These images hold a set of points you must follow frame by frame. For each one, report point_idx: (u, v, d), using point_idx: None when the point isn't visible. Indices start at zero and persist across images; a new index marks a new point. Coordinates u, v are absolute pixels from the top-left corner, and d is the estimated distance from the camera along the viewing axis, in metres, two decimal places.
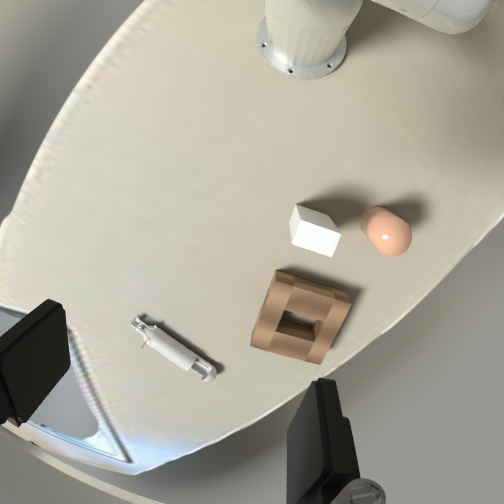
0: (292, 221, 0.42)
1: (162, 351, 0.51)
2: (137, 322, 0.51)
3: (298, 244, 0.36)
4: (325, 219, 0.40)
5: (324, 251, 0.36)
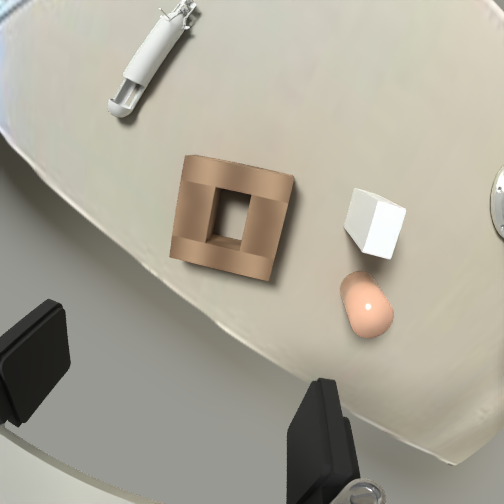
0: (369, 193, 0.32)
1: (151, 40, 0.29)
2: (190, 5, 0.28)
3: (377, 208, 0.26)
4: None
5: (369, 242, 0.27)
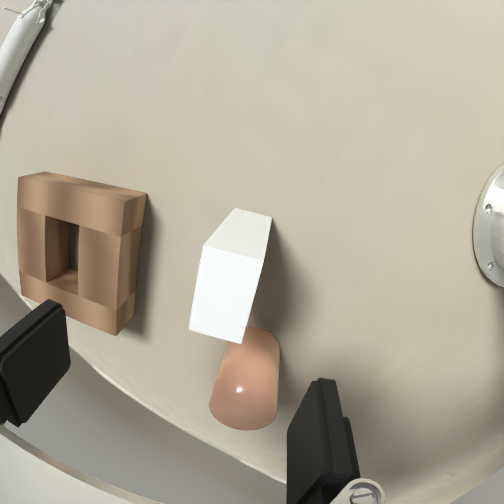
0: (243, 220, 0.21)
1: (5, 43, 0.18)
2: None
3: (204, 259, 0.15)
4: None
5: (197, 315, 0.16)
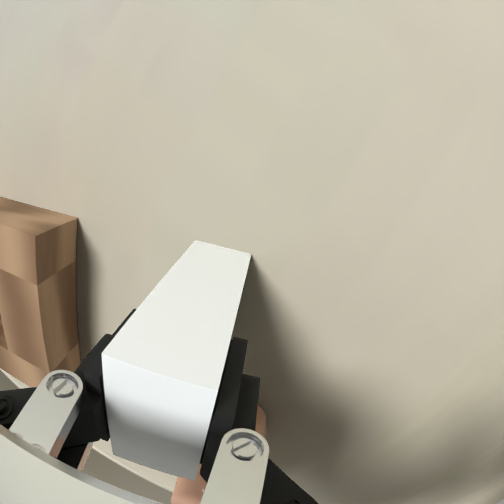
0: (201, 267, 0.13)
1: None
2: None
3: (108, 375, 0.07)
4: None
5: (120, 442, 0.08)
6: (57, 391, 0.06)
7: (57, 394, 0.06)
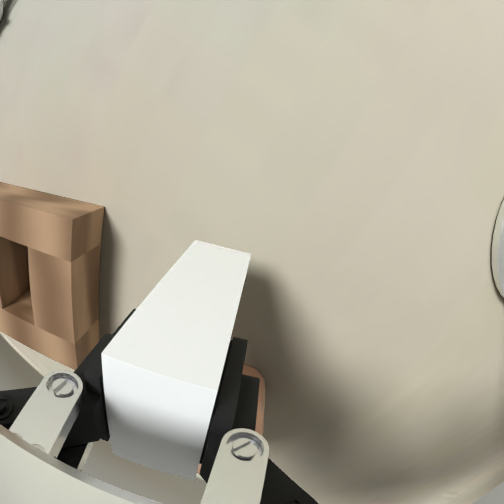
0: (201, 267, 0.13)
1: None
2: None
3: (108, 375, 0.07)
4: None
5: (120, 442, 0.08)
6: (57, 391, 0.06)
7: (57, 394, 0.06)
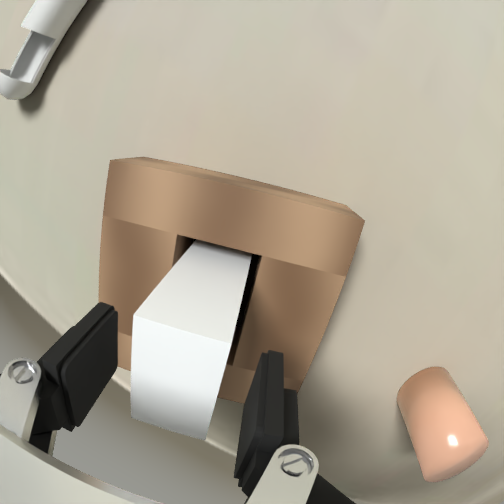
0: (212, 252, 0.15)
1: None
2: None
3: (137, 335, 0.09)
4: None
5: (140, 403, 0.10)
6: (18, 378, 0.06)
7: (19, 381, 0.06)
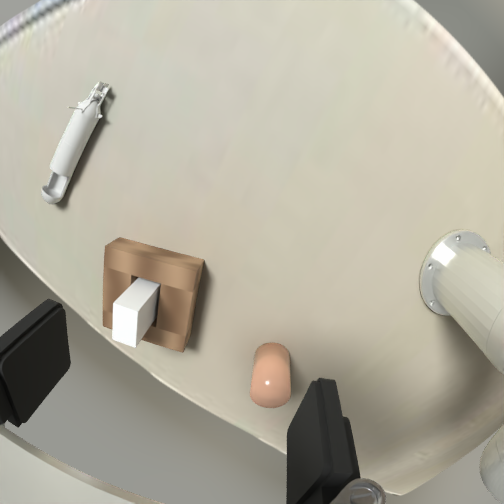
0: (145, 281, 0.37)
1: (68, 132, 0.32)
2: (102, 90, 0.32)
3: (114, 309, 0.31)
4: (153, 315, 0.37)
5: (115, 333, 0.32)
6: None
7: None
